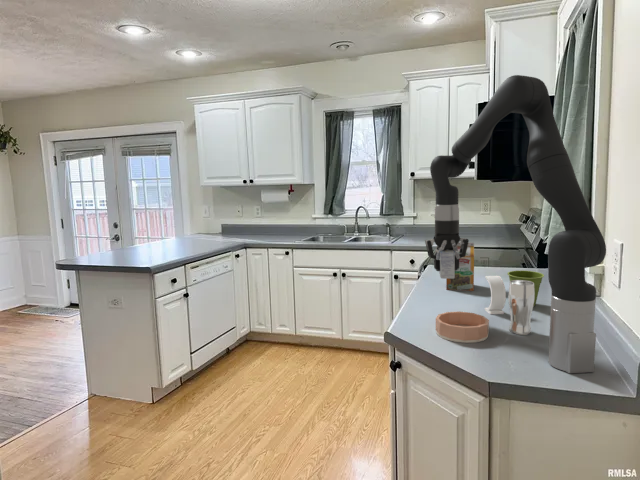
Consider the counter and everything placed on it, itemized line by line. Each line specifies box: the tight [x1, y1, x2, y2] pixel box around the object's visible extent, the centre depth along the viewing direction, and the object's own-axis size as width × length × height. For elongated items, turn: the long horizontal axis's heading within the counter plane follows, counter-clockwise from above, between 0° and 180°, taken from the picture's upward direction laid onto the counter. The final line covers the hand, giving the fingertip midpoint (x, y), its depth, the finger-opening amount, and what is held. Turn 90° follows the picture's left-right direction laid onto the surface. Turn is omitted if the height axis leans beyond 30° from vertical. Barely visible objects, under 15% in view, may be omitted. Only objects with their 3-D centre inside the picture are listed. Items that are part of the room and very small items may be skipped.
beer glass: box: [508, 280, 535, 336], centre depth 131 cm, size 7×7×15 cm
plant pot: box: [507, 269, 545, 307], centre depth 158 cm, size 12×12×11 cm
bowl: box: [435, 311, 490, 344], centre depth 131 cm, size 15×15×4 cm
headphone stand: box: [484, 275, 507, 315], centre depth 150 cm, size 5×6×12 cm
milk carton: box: [445, 241, 475, 292], centre depth 184 cm, size 11×11×19 cm
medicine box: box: [438, 250, 455, 279], centre depth 144 cm, size 8×4×9 cm, turn 169°
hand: (446, 270), depth 145 cm, fingers closed on medicine box, 5 cm apart
